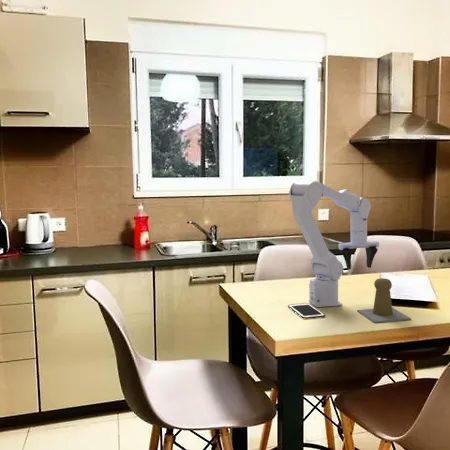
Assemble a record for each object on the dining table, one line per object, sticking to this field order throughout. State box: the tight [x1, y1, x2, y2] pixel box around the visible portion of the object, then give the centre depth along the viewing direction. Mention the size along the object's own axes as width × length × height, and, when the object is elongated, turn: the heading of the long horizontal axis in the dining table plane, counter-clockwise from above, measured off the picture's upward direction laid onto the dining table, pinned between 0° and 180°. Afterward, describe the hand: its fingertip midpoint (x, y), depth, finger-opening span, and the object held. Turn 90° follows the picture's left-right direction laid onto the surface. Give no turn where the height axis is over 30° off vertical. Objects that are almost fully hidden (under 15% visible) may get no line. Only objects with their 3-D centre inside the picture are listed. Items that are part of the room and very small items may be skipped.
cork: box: [372, 277, 393, 316], centre depth 150 cm, size 6×6×11 cm
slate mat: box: [356, 307, 412, 324], centre depth 150 cm, size 12×12×1 cm
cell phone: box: [287, 302, 326, 319], centre depth 156 cm, size 8×15×1 cm, turn 12°
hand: (358, 267), depth 171 cm, fingers open, 7 cm apart
